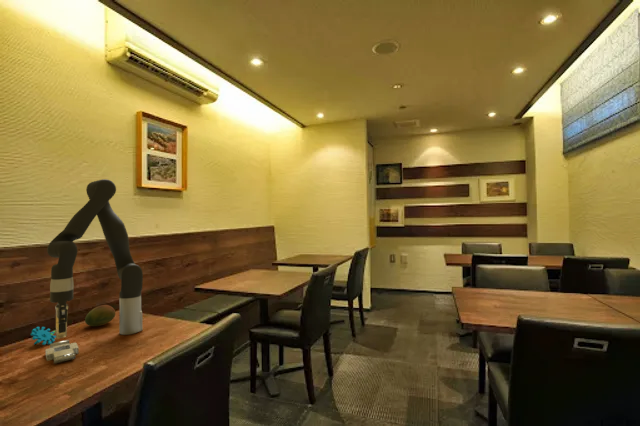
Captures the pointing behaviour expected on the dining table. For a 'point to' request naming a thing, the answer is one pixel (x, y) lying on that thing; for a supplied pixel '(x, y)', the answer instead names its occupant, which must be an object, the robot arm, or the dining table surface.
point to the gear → (43, 335)
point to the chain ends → (62, 351)
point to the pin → (58, 335)
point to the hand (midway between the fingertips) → (61, 330)
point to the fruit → (100, 315)
